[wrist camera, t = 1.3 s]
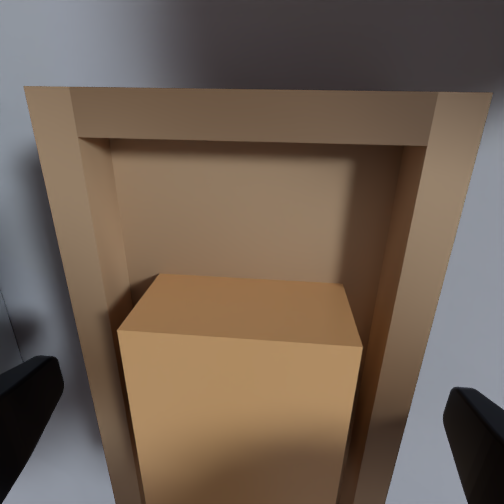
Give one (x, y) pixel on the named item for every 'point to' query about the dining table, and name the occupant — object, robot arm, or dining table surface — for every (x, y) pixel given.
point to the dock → (7, 342)
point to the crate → (240, 389)
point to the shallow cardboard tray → (260, 225)
